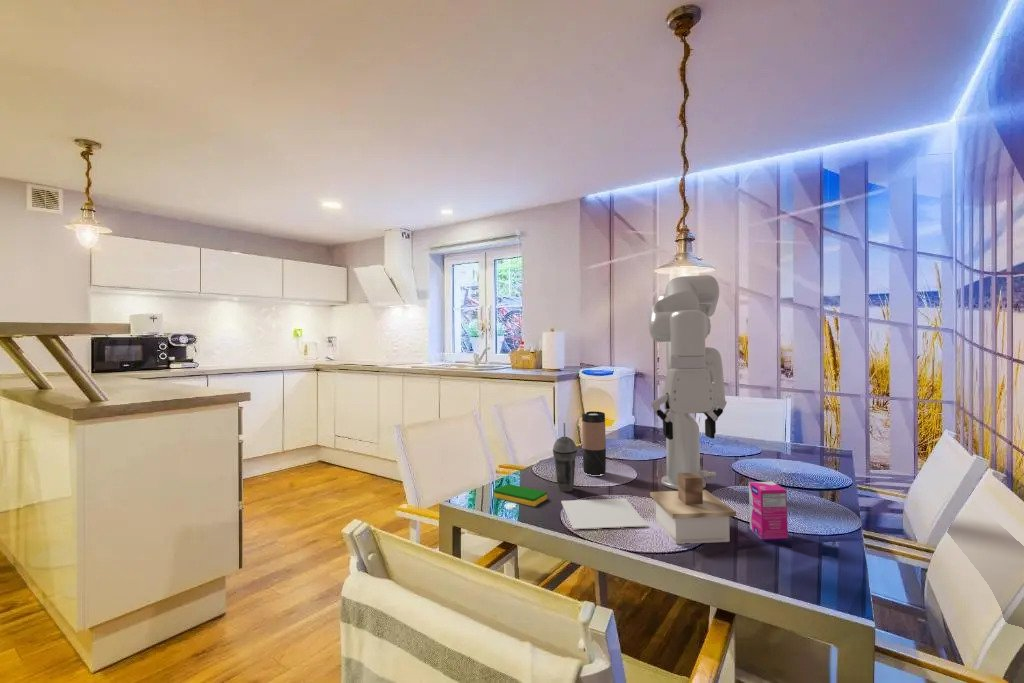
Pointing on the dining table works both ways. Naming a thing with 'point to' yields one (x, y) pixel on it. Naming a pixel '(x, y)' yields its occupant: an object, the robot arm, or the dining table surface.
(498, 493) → the dish sponge
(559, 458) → the beverage cup
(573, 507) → the mat
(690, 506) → the lid
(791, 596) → the dining table surface
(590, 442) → the travel mug
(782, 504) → the supplement box
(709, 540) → the white open box
